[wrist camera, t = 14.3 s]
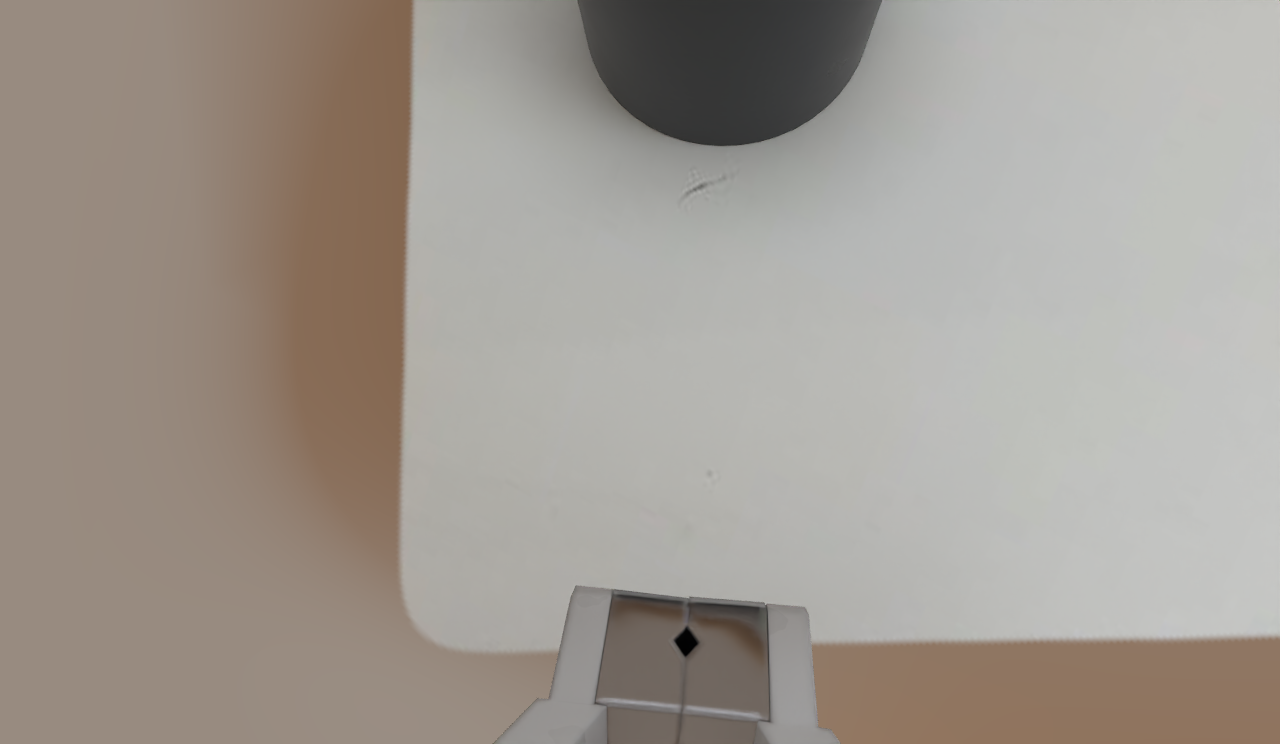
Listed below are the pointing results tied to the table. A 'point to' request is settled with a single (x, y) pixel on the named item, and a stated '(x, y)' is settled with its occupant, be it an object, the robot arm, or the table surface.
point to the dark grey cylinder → (726, 61)
